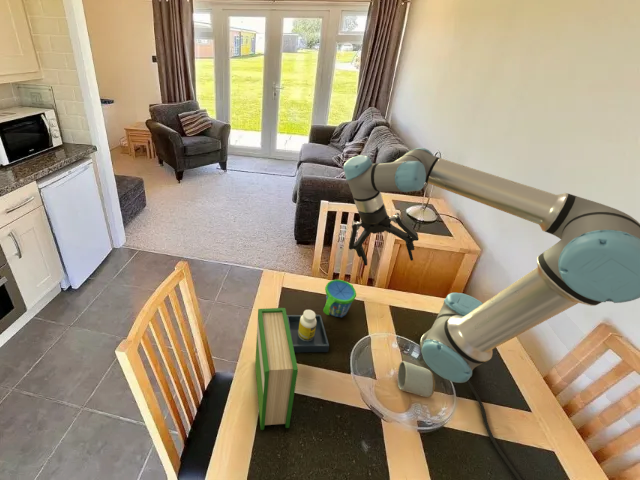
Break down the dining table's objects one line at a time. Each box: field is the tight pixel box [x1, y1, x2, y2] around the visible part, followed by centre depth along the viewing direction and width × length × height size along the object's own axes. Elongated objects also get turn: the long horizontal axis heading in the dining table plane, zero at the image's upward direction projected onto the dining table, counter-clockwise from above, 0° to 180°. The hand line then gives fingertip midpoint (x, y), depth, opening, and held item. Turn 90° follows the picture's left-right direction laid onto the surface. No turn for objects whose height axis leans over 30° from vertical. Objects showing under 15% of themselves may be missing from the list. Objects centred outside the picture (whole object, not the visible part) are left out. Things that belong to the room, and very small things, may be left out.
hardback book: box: [254, 307, 299, 431], centre depth 83 cm, size 18×7×24 cm, turn 5°
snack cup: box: [322, 279, 357, 318], centre depth 114 cm, size 16×10×10 cm
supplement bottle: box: [298, 309, 317, 341], centre depth 104 cm, size 5×5×10 cm
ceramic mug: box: [397, 360, 436, 398], centre depth 92 cm, size 11×8×8 cm
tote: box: [287, 314, 330, 353], centre depth 106 cm, size 12×12×3 cm
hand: (388, 260), depth 100 cm, fingers open, 13 cm apart
